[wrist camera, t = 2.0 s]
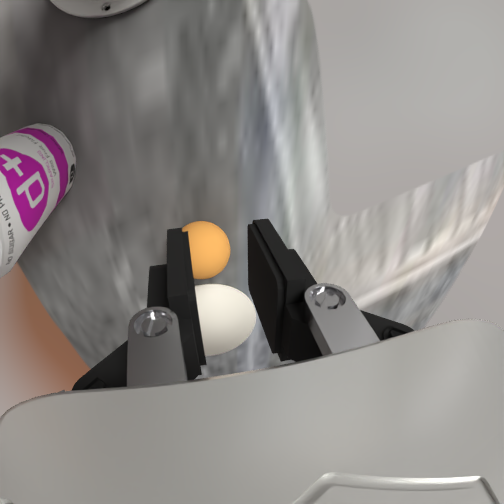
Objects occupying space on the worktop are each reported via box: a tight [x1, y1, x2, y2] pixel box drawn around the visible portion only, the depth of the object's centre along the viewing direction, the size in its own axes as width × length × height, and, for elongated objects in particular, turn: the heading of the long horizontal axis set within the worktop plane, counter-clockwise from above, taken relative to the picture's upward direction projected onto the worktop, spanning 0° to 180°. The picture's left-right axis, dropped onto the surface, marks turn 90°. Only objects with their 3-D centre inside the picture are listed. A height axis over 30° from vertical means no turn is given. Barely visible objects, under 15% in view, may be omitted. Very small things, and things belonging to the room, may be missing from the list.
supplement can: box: [0, 123, 76, 278], centre depth 18 cm, size 8×8×15 cm
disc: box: [195, 284, 256, 356], centre depth 39 cm, size 12×12×1 cm
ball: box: [182, 221, 230, 279], centre depth 30 cm, size 6×6×6 cm
